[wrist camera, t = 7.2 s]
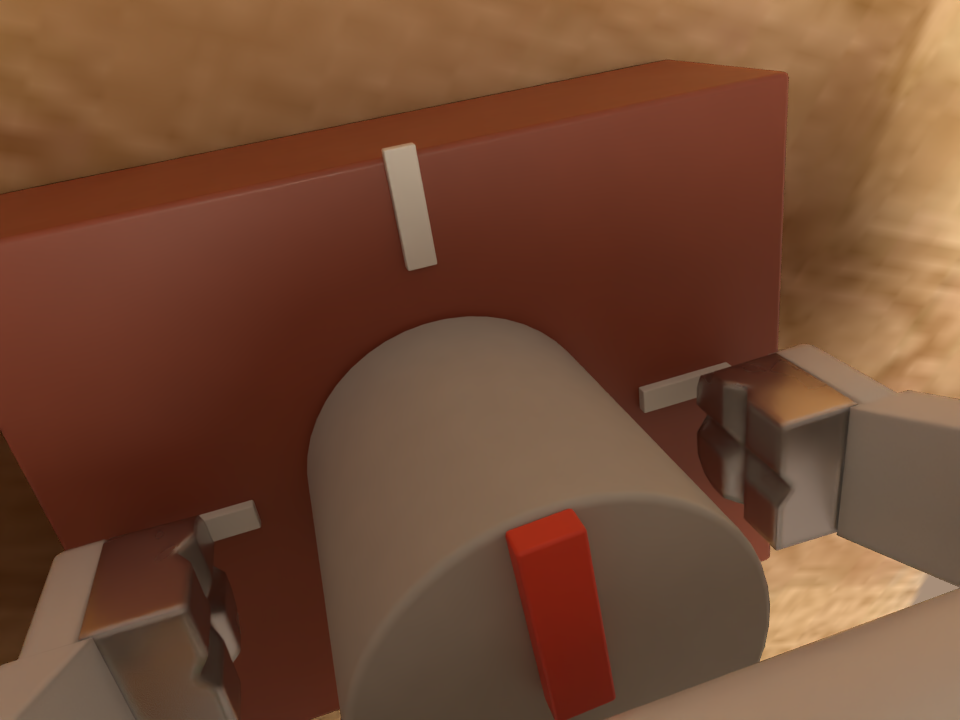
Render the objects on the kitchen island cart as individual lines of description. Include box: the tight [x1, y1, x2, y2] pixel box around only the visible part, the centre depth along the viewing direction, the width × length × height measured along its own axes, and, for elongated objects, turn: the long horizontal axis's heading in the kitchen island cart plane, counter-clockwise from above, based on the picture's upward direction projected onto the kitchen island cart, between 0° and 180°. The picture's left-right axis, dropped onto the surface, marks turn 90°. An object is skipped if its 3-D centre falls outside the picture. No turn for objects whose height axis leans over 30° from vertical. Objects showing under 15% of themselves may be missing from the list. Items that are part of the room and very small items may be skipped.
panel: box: [0, 60, 789, 720], centre depth 11 cm, size 10×8×3 cm
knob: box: [307, 316, 770, 720], centre depth 8 cm, size 4×4×4 cm
